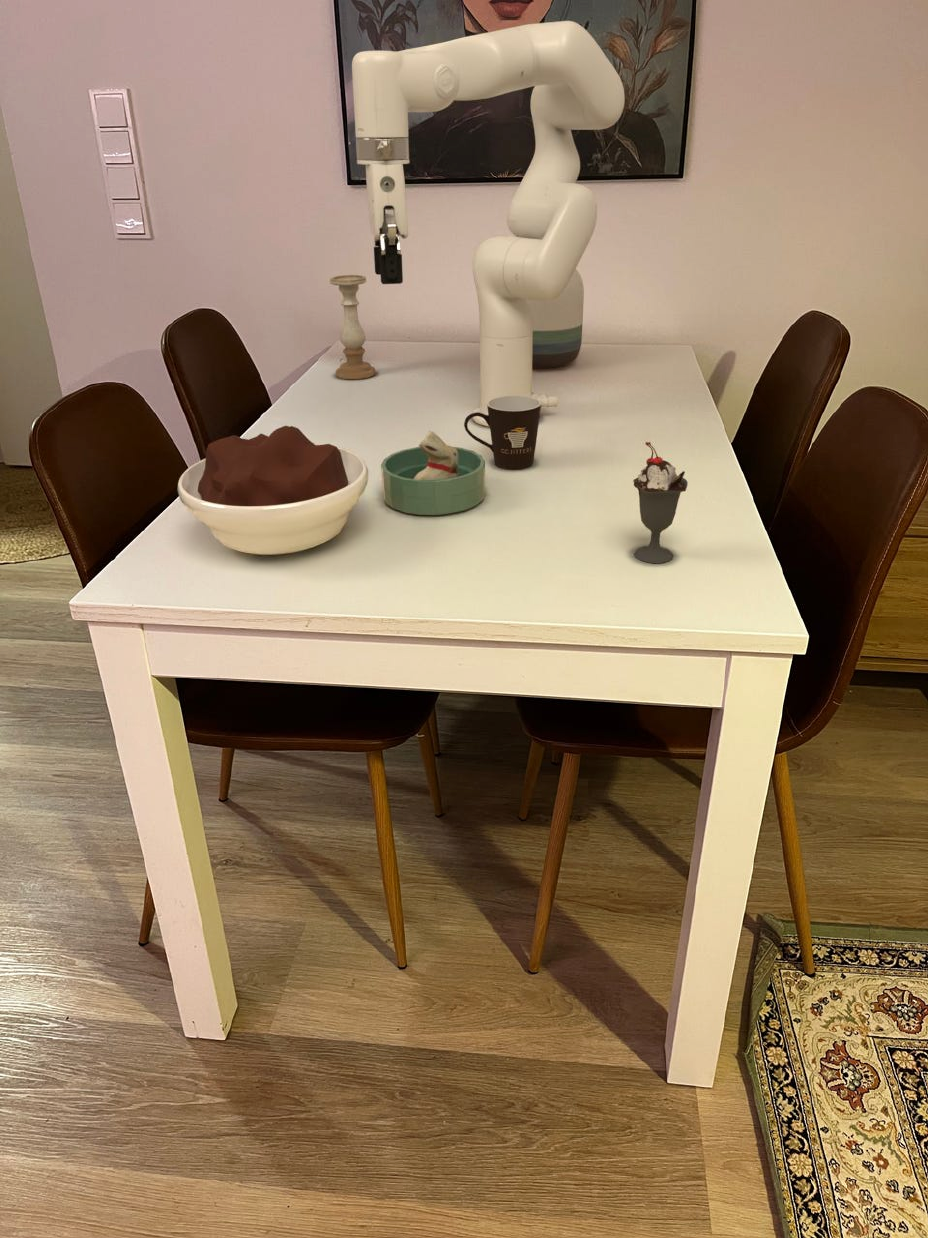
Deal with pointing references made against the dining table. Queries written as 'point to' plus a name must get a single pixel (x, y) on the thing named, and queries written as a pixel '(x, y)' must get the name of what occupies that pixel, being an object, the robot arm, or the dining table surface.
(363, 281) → the candle holder
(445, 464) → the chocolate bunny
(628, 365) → the dining table surface
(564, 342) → the vase
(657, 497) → the sundae
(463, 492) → the bowl
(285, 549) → the cream round dish
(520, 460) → the coffee mug
